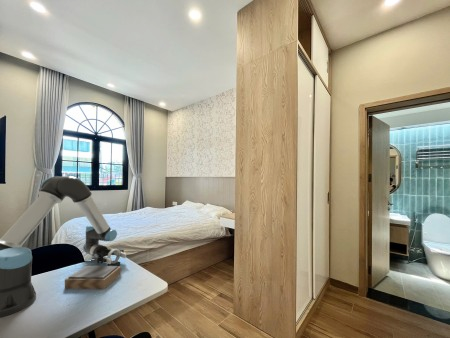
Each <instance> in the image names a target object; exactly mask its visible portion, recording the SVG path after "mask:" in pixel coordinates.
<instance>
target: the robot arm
mask: <svg viewBox="0 0 450 338" xmlns="http://www.w3.org/2000/svg"><path fill="white" fill-rule="evenodd" d="M37 194H38V197H37V198H36V199H35V200H34V201H33V203H31V205H30V206H28V208H27V209H26V210H25V211H24V212H23V213H22V214H21V215H20V216H19V218H18V219H17V220H16V221H15V222H14V223H13V224H12V226H11V227H10V228H9V229H8V230H7V231H6V232H5V233H4V234H3V236H1V238H0V318H2V317H5V316H9V315H11V314H14V313H17V312H19V311H21V310H24V309H25V308H27V307H29V306H31V305H32V304H33V303H34V302H35V301H36V298H37V291H36V290H35V288H34V285H33V283H32V264H33V255H32V250H31V249H30V248H29V247H24V246H23V245H24V243H26V241H27V240H28V239H29V238H30V237H31V235H32V234H33V232H35V230H36V229H37V227H39V225H40V224H41V222H42V221H43V220H44V219H45V217H47V215H48V214H49V213H50V212H51V210H52V209H53V208H54V207H55V205H56V204H61V203H62V201H64V199H65V198H66V197H67V198H68V199H69V198H70V199H71V201H72V202H73V203H74V204H77V205H78V207H79V209H80V210H81V211H82V213H83V214H84V216H85V217H86V219H87V220H88V222H89V223H90V224H88V225H87V226H86V227H85V243H84V244H83V246H82V250H83V252H84V253H86V254H87V255H91V259H93V260H94V261H95V262H96V263H97V264H99V263H100V264H103V263H105V264H111V260H112V258H111V259H110V258H107V256H108V253H109V252H110V251H111V250H112V249H118V250H120V251H121V256H120V258H122V259H127V253H126V252H125V251H124V249H121V248H117V247H113V248H112V249H109V248H108V247H107V246H105V245H102V244H101V243H99V242H100V241H102V242H113V241H114V240H116V239H117V235H118V232H117V230H116V229H113V228H111V227H110V225H109V224H108V223H109V222H107V220H106V218H105V217H104V215H103V214H102V212H101V210H100V209H99V207H98V205H97V204H96V201H94V199H93V197H92V194H93V193H92V192H91V190H90V188H89V187H88V186H87V185H86V183H85V182H84V181H82V180H81V179H80V178H78V177H76V176H72V175H68V176H64V175H63V176H61V175H60V176H58V175H55V176H49V177H47V178H46V179H44V180H43V181H42V182H41V184H40V189H39V191H38V192H37ZM111 256H116V255H115V254H114V253H112V254H111Z"/></svg>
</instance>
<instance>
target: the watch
mask: <svg viewBox="0 0 450 338" xmlns="http://www.w3.org/2000/svg"><path fill="white" fill-rule="evenodd" d="M118 249H119V248H116V249H113V248H112V249H110V250H111V251H110V252H109V253H108V256H106V257H107V258H110V259H111V264H108V263H106V266H118V267H121V261H120V260H119V259H121V257H120V256H121V251H120V250H118ZM112 253H114V254H115V255H114V256H115V260H112V257H111V256H112V255H111V254H112Z"/></svg>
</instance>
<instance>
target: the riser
mask: <svg viewBox="0 0 450 338" xmlns="http://www.w3.org/2000/svg"><path fill="white" fill-rule="evenodd" d="M121 267H122V266H120V267H118V266H107V265H86V266H84V267H82V268H81V269H79V270H77V271H76V272H74V273H72V274H71V275H69V276H68V277H67V278H64V289H65V290H106V288H107V287H108V286H111V285H110V284H112V283H113V282H114V281H116V279H118V278H119V277H120V276H121V275H122V272H121Z"/></svg>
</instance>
